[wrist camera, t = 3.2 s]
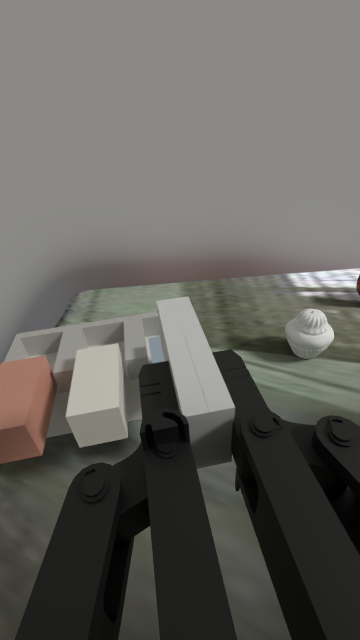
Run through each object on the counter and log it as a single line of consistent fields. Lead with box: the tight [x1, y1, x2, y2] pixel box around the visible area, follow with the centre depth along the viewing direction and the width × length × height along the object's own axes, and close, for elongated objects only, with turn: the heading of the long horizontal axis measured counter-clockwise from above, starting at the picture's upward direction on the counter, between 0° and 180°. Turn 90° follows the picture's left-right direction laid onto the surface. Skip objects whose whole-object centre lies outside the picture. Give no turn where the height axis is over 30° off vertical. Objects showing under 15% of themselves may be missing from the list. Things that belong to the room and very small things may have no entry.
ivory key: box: [66, 343, 128, 448], centre depth 27 cm, size 4×8×4 cm, turn 11°
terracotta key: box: [0, 356, 58, 464], centre depth 26 cm, size 4×8×4 cm, turn 10°
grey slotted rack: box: [4, 312, 160, 438], centre depth 35 cm, size 20×8×9 cm, turn 101°
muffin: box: [285, 309, 334, 359], centre depth 40 cm, size 6×6×7 cm
